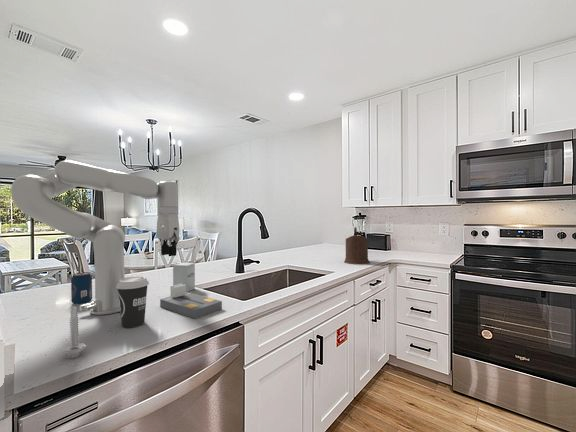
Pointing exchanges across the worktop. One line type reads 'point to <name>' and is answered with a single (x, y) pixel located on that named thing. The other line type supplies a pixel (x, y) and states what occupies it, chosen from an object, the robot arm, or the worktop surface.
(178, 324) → the worktop surface
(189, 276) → the supplement box
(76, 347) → the screw
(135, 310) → the coffee cup
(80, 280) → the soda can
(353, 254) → the dark brown bell
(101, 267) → the robot arm
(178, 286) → the fader knob
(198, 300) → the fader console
